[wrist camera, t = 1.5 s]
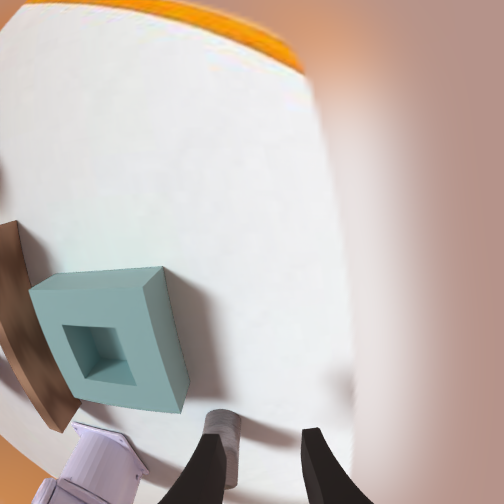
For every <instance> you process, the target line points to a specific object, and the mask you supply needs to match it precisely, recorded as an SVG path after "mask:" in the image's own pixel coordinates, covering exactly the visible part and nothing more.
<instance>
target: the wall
mask: <svg viewBox="0 0 504 504" xmlns="http://www.w3.org/2000/svg"><path fill="white" fill-rule="evenodd" d="M29 289H31V285H30V281H29V278H28V274H27V270H26V266H25V262H24V258H23V253H22V248H21V243H20V238H19V233H18V227H17V221H16V220H15V221H12V222H8V223H5V224H2V225H0V345H1V347H2V349H3V351H4V353H5V356H6V358H7V360H8V362H9V364H10V366H11V368H12V369H13V371H14V373H15V375H16V377H17V379H18V380H19V382H20V384H21V386H22V387H23V389H24V391H25V393H26V394H27V396H28V397H29V399H30V401H31V402H32V404H33V405H34V407H35V408H36V410H37V411H38V413H39V414H40V416H41V417H42V419H43V420H44V422H45V423H46V424H47V426H48V427H49V428H50V429H52V430H55V431H57V432H60V433H63V432H64V430H65V428H66V427H67V425H68V424H69V422H70V421H71V419H72V417H73V416H74V414H75V413H76V411H77V410H78V408H79V407H80V405H81V402H80V400H79V399H78V398H75V397H74V396H73V394H72V392H71V390H70V389H69V387H68V385H67V383H66V381H65V379H64V377H63V375H62V373H61V371H60V369H59V367H58V365H57V363H56V361H55V359H54V357H53V354H52V352H51V350H50V348H49V345H48V343H47V341H46V338H45V336H44V333H43V331H42V328H41V326H40V323H39V320H38V318H37V315H36V312H35V309H34V306H33V303H32V300H31V297H30V294H29Z"/></svg>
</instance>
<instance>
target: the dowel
mask: <svg viewBox="0 0 504 504" xmlns="http://www.w3.org/2000/svg"><path fill="white" fill-rule="evenodd" d="M240 426H241V419H240V417H239V416H238V415H237V414H236V413H234V412H232V411H229V410H224V409H217V410H213V411H210V412H209V413H208V414H207V415H206V418H205V424H204V429H203V434H204V433H206V434H219V435H220V438H221V441H222V444H223V448H224V451H225V454H226V457H227V469H226V482H225V488H224V490H226V489H232V488H234V487H236V486H237V481H238V462H239V444H240ZM203 434H202V435H203Z"/></svg>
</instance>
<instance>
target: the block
mask: <svg viewBox="0 0 504 504" xmlns="http://www.w3.org/2000/svg"><path fill="white" fill-rule="evenodd" d="M29 294H30V297H31V300H32V303H33V306H34V309H35V312H36V315H37V318H38V320H39V323H40V326H41V328H42V331H43V333H44V336H45V338H46V341H47V343H48V345H49V348H50V350H51V352H52V354H53V357H54V359H55V361H56V363H57V365H58V367H59V369H60V371H61V373H62V375H63V377H64V379H65V381H66V383H67V385H68V387H69V389H70V390H71V392H72V394H73V396H74V397H75V398H79V399H83V400H87V401H92V402H97V403H102V404H107V405H112V406H118V407H125V408H131V409H138V410H146V411H155V412H166V413H178V414H181V411H182V408H183V404H184V401H185V398H186V394H187V391H188V387H189V384H190V380H189V376H188V373H187V369H186V366H185V362H184V358H183V355H182V351H181V347H180V343H179V339H178V335H177V331H176V327H175V322H174V318H173V314H172V309H171V305H170V300H169V295H168V290H167V285H166V280H165V275H164V270H163V266H159V267H145V268H131V269H117V270H103V271H88V272H73V273H57V274H54V275H53V276H51V277H49V278H47V279H46V280H44V281H42V282H41V283H39V284H37V285H36V286H34V287H32V288H31V289H29Z"/></svg>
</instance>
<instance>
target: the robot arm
mask: <svg viewBox="0 0 504 504" xmlns="http://www.w3.org/2000/svg"><path fill="white" fill-rule="evenodd" d="M71 425H72V427H73V428H74V429H75V431H76V432H77V434H78V435H79V436H80V439H79V441H78V443H77V445H76V447H75V448H74V450H73V452H72V454H71V456H70V458H69V460H68V461H67V463H66V465H65V467H64V469H63V471H62V473H61V475H60V477H59V479H57V480H55V479H54V478H45V479H44V481H43V482H42V484H41V485H40V487H39V489H38V491H37V493H36V494H35V496H34V498H33V501H32V503H31V504H133V502H134V499H135V495H136V492H137V489H138V486H139V483H140V480H141V477H142V474H146V475H148V474H149V471H148V470H147V468H146V467H145V466H144V464H143V463H142V462H141V460H140V459H139V458H138V456H137V455H136V453H135V452H134V450H133V449H132V447H131V446H130V444H129V443H128V441H127V440H126V438H125V437H124V436H123V435H122V434H119V433H115V432H110V431H106V430H101V429H97V428H93V427H90V426H86V425H82V424H79V423H76V422H72V423H71ZM301 463H302V472H303V478H304V482H305V487H306V491H307V495H308V500H309V504H374V503H373V502H371V501H370V500H369V499H368V498H367V497H366V496H365V495H364V494H363V493H362V492H361V491H360V489H359V488H358V487H357V486H356V485H355V484H354V483H353V481H352V480H351V479H350V478H349V476H348V475H347V474H346V472H345V471H344V470H343V468H342V467H341V465H340V464H339V463H338V461H337V460H336V458H335V457H334V455H333V453H332V452H331V450H330V448H329V447H328V445H327V443H326V441H325V439H324V437H323V435H322V433H321V430H320V429H319V428H318V427H317V428H310V429H302V442H301ZM226 469H227V457H226V454H225V451H224V448H223V444H222V441H221V438H220V435H219V434H206V433H204V434H203V435H202V437H201V439H200V441H199V444H198V446H197V448H196V450H195V451H194V453H193V455H192V457H191V459H190V461H189V462H188V464H187V465H186V467H185V469H184V470H183V472H182V473H181V475H180V476H179V478H178V479H177V481H176V482H175V483H174V485H173V486H172V487H171V489H170V490H169V491H168V492H167V494H166V495H165V496H164V497H163V498H162V500H161V501H160V502H159V503H158V504H222V500H223V494H224V488H225V482H226Z"/></svg>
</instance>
